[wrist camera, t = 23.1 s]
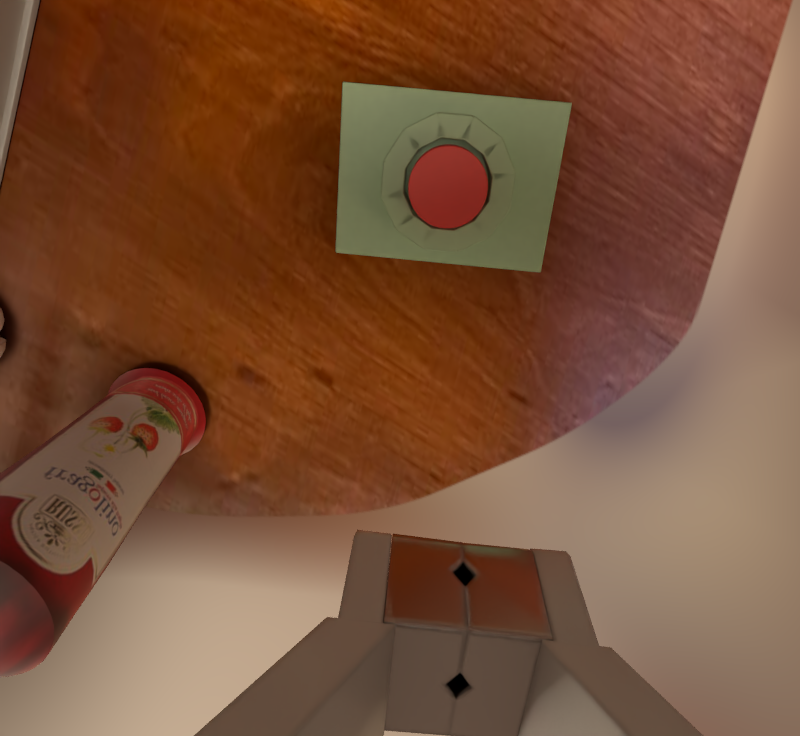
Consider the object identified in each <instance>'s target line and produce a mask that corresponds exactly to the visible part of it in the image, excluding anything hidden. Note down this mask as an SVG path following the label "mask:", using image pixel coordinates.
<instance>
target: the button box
mask: <svg viewBox="0 0 800 736" xmlns="http://www.w3.org/2000/svg"><path fill="white" fill-rule="evenodd" d="M571 106H572V103H569V102H558V101H547V100H537V99H526V98H515V97H504V96H493V95H482V94H472V93H461V92H450V91H439V90H428V89H418V88H407V87H396V86H385V85H374V84H363V83H353V82H343V84H342V108H341V132H340V156H339V180H338V204H337V228H336V253H345V254H356V255H366V256H376V257H386V258H396V259H407V260H417V261H427V262H437V263H448V264H458V265H468V266H478V267H488V268H499V269H509V270H519V271H529V272H541V268H542V263H543V257H544V252H545V246H546V241H547V236H548V230H549V225H550V219H551V214H552V209H553V203H554V198H555V192H556V187H557V181H558V176H559V171H560V165H561V160H562V154H563V149H564V144H565V138H566V133H567V127H568V122H569V117H570V111H571ZM445 144H453V145H458V146H461V147H463V148H465V149H467V150H469V151H470V152H471V153H473V154H474V155H475V156H476V157H477V158H478V159H479V160H480V162H481V163H482V165H483V167H484V169H485V171H486V175H487V179H488V193H487V197H486V200H485V203H484V205H483V207H482V209H481V210H480V212H479V213H478V214H477V215H476V216H475V217H474V218H473V219H472V220H471V221H469V222H468V223H466V224H464V225H462V226H459V227H456V228H449V229H448V228H438V227H435V226H432V225H430V224H428V223H427V222H425V221H424V220H422V219H421V218H420V217H419V216H418V215H417V213H416V212H415V210H414V209H413V207H412V205H411V202H410V199H409V194H408V183H409V177H410V174H411V171H412V169H413V167H414V165H415V163H416V162H417V160H418V159H419V158H420V157H421V156H422V155H423V154H424V153H425V152H426V151H428V150H430V149H431V148H433V147H436V146H439V145H445Z"/></svg>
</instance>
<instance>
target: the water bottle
mask: <svg viewBox="0 0 800 736" xmlns="http://www.w3.org/2000/svg"><path fill="white" fill-rule="evenodd" d="M3 324H4V317H3V312H2V310H1V308H0V331H1V329H2V327H3ZM5 347H6V339H4V338H2V337H0V358H1V356H2V354H3V352H4V351H5Z"/></svg>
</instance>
